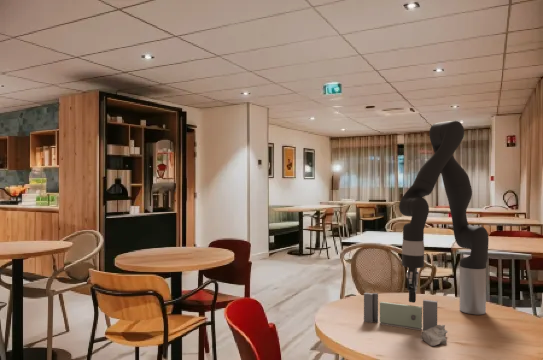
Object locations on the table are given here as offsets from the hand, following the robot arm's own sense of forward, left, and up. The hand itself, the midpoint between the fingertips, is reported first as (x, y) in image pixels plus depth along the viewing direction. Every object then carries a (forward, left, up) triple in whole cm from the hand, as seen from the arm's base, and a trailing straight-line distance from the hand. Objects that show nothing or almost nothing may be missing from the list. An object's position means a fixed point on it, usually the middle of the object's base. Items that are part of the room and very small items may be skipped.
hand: (412, 301), depth 150 cm
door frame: (+5, -3, -8) cm, 10 cm away
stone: (+14, +9, -8) cm, 18 cm away
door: (+6, -3, -7) cm, 10 cm away
